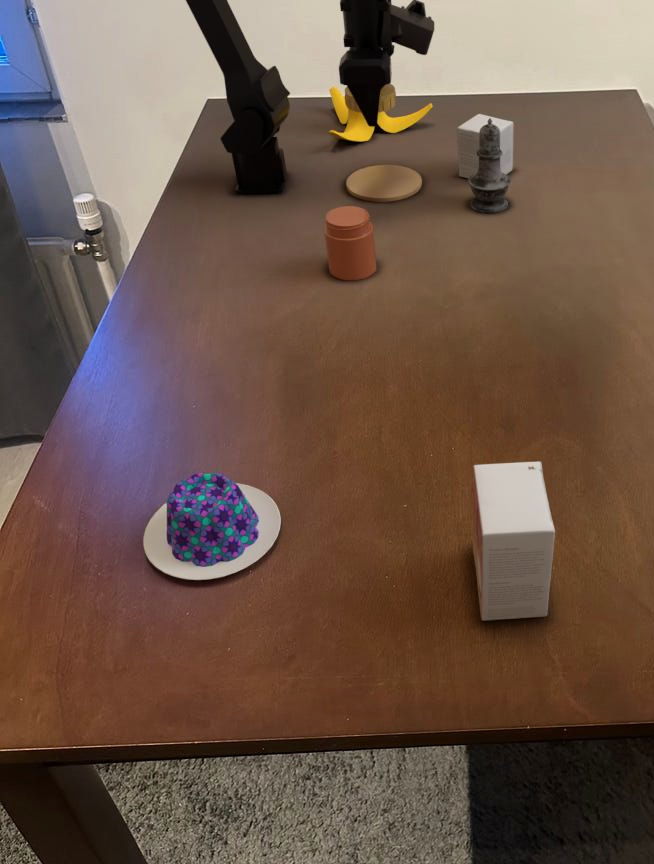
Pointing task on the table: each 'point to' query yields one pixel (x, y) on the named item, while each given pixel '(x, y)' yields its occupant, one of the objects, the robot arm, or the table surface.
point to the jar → (350, 243)
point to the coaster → (384, 183)
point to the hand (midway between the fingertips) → (374, 116)
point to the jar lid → (385, 101)
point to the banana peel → (358, 125)
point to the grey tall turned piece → (489, 173)
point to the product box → (470, 144)
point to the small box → (512, 540)
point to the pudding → (211, 528)
